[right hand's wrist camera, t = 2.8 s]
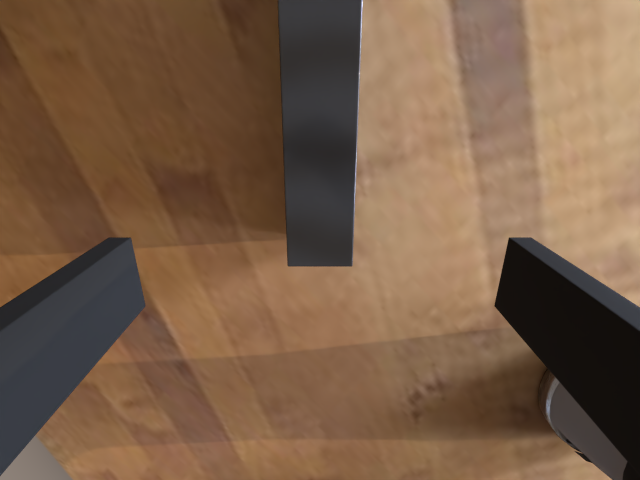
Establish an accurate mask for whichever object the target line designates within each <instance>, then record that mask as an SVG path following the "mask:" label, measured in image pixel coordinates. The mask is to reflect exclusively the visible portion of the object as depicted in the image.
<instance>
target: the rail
mask: <svg viewBox="0 0 640 480" xmlns="http://www.w3.org/2000/svg"><path fill="white" fill-rule="evenodd" d="M362 3H363V0H278V20H279V47H280V73H281V100H282V127H283V154H284V180H285V207H286V234H287V260H288V266H352V264H353V238H354V212H355V186H356V160H357V134H358V107H359V81H360V55H361V29H362Z"/></svg>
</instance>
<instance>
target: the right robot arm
mask: <svg viewBox="0 0 640 480" xmlns="http://www.w3.org/2000/svg"><path fill="white" fill-rule="evenodd" d="M144 307H145V301H144V296H143V292H142V287H141V282H140V278H139V273H138V268H137V264H136V259H135V254H134V250H133V245H132V240H131V238H108V239H106V240H104V241H103V242H101V243H100V244H98V245H97V246H95V247H94V248H92V249H90V250H89V251H87V252H86V253H84V254H83V255H81V256H80V257H78V258H76V259H75V260H73V261H72V262H70V263H69V264H67V265H66V266H64V267H62V268H61V269H59V270H58V271H56V272H55V273H53V274H52V275H50V276H48V277H47V278H45V279H44V280H42V281H41V282H39V283H38V284H36V285H34V286H33V287H31V288H30V289H28V290H27V291H25V292H24V293H22V294H20V295H19V296H17V297H16V298H14V299H13V300H11V301H10V302H8V303H6V304H5V305H3V306H2V307H0V476H1V474H2V473H3V472H4V471H5V470H6V469H7V467H8V466H9V465H10V464H11V463H12V462H13V460H14V459H15V458H16V457H17V456H18V455H19V453H20V452H21V451H22V450H23V449H24V448H25V446H26V445H27V444H28V443H29V442H30V441H31V439H32V438H33V437H34V436H35V435H36V434H37V432H38V431H39V430H40V429H41V428H42V427H43V425H44V424H45V423H46V422H47V421H48V419H49V418H50V417H51V416H52V415H53V414H54V412H55V411H56V410H57V409H58V408H59V407H60V405H61V404H62V403H63V402H64V401H65V400H66V398H67V397H68V396H69V395H70V394H71V393H72V391H73V390H74V389H75V388H76V387H77V386H78V384H79V383H80V382H81V381H82V380H83V379H84V377H85V376H86V375H87V374H88V373H89V372H90V370H91V369H92V368H93V367H94V366H95V365H96V363H97V362H98V361H99V360H100V359H101V357H102V356H103V355H104V354H105V353H106V352H107V350H108V349H109V348H110V347H111V346H112V345H113V343H114V342H115V341H116V340H117V339H118V338H119V336H120V335H121V334H122V333H123V332H124V331H125V329H126V328H127V327H128V326H129V325H130V324H131V322H132V321H133V320H134V319H135V318H136V317H137V315H138V314H139V313H140V312H141V311H142V310H143V308H144ZM495 307H496V308H497V310H498V311H499V312H500V313H501V314H502V315H503V317H504V318H505V319H506V320H507V321H508V322H509V324H510V325H511V326H512V327H513V328H514V329H515V331H516V332H517V333H518V334H519V335H520V336H521V338H522V339H523V340H524V341H525V342H526V343H527V345H528V346H529V347H530V348H531V349H532V350H533V352H534V353H535V354H536V355H537V356H538V357H539V359H540V360H541V361H542V362H543V363H544V365H545V366H546V367H547V368H548V369H547V370H546V372H545V374H544V376H543V378H542V381H541V384H540V388H539V395H538V398H539V406H540V409H541V412H542V414H543V416H544V417H545V418H546V420H547V421H548V423H549V424H550V426H551V427H552V428H553V430H554V431H555V433H556V434H557V435H558V436H559V437H560V438H561V439H562V440H563V441H564V442H566V443H567V444H568V445H570V446H571V447H573V448H574V449H576V450H578V451H580V452H582V453H583V454H582V453H579V452H576V451H575V452H576V453H577V454H578V455H580V456H581V457H582V458H583V459H585V460H586V461H588V462H591V463H593V464H594V465H595V466H597V467H598V468H599V469H600V470H601V471H603V472H604V473H605V474H606V475H608V476H609V477H610V478H611V479H612V480H640V307H638V306H637V305H635V304H634V303H632V302H630V301H629V300H627V299H626V298H624V297H623V296H621V295H620V294H618V293H616V292H615V291H613V290H612V289H610V288H609V287H607V286H606V285H604V284H602V283H601V282H599V281H598V280H596V279H595V278H593V277H592V276H590V275H588V274H587V273H585V272H584V271H582V270H581V269H579V268H578V267H576V266H574V265H573V264H571V263H570V262H568V261H567V260H565V259H564V258H562V257H560V256H559V255H557V254H556V253H554V252H553V251H551V250H550V249H548V248H546V247H545V246H543V245H542V244H540V243H539V242H537V241H536V240H534V239H532V238H509V240H508V245H507V250H506V254H505V259H504V264H503V268H502V273H501V278H500V282H499V287H498V292H497V296H496V301H495Z"/></svg>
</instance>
